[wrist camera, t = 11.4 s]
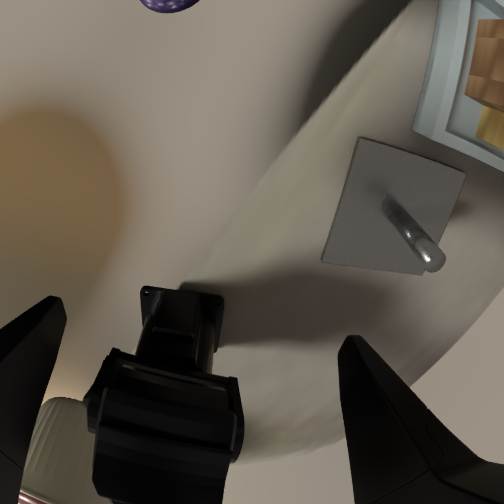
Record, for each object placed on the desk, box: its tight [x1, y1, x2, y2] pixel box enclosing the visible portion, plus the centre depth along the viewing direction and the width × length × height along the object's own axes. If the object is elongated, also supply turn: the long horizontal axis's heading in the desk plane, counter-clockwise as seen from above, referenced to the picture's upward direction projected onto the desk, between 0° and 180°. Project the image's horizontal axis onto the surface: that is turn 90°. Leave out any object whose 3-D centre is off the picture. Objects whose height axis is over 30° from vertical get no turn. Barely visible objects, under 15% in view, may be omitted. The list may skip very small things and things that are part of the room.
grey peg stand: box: [321, 137, 466, 276], centre depth 18 cm, size 9×9×6 cm
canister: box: [18, 397, 111, 504], centre depth 28 cm, size 18×18×21 cm
